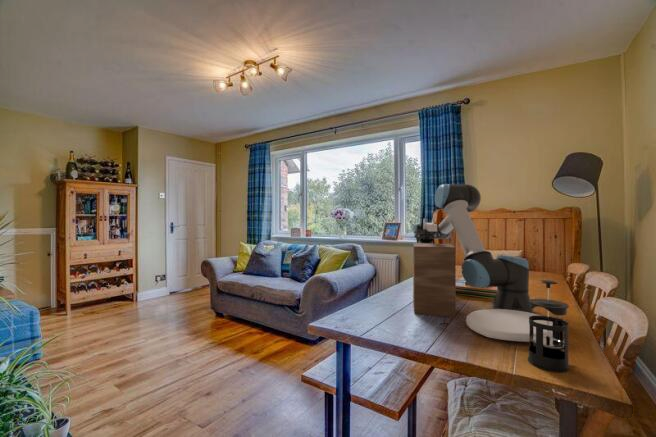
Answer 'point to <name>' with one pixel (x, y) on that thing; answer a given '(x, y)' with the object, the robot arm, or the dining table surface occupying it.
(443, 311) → the walnut stand
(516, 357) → the dining table surface
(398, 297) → the dining table surface
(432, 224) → the metal bar
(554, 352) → the french press
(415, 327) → the dining table surface
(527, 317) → the plate
